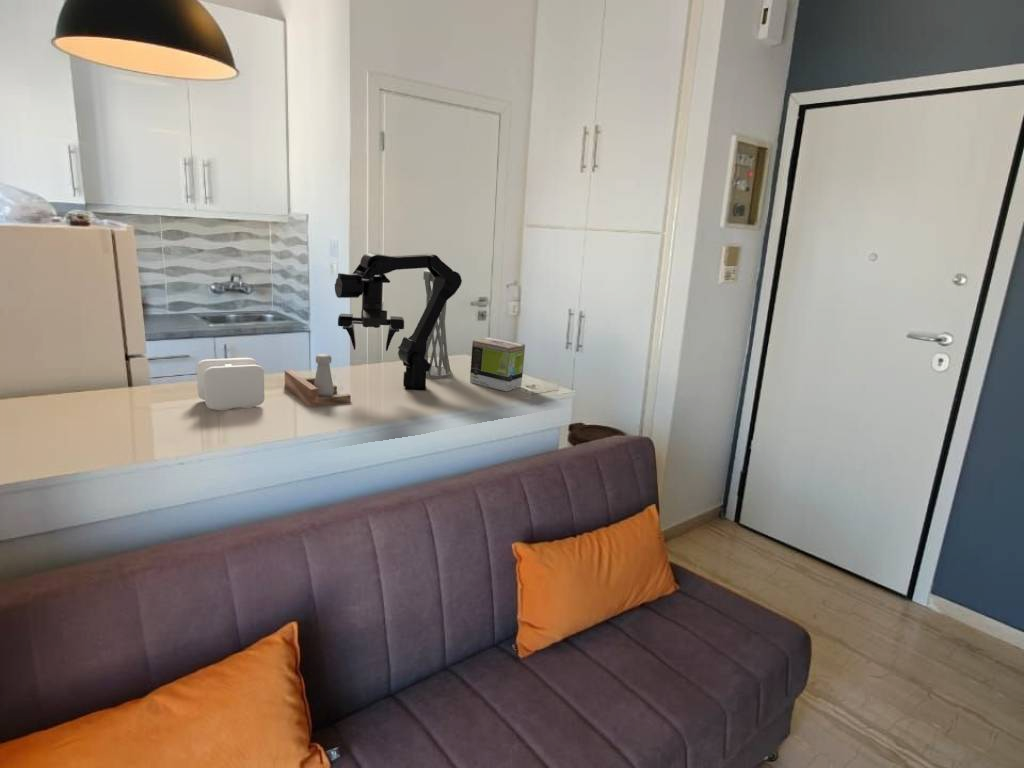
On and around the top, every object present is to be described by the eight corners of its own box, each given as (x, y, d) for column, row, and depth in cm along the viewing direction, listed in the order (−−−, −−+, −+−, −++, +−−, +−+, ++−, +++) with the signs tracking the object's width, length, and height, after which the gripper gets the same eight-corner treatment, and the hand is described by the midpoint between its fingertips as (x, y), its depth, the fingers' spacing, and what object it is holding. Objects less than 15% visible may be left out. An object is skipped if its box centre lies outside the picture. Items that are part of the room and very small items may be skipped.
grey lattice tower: (411, 367, 218) (416, 267, 208) (449, 368, 221) (455, 270, 211) (413, 377, 205) (419, 272, 196) (453, 379, 208) (460, 275, 199)
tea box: (522, 387, 207) (526, 344, 203) (505, 392, 198) (510, 348, 194) (485, 377, 214) (489, 335, 210) (468, 382, 206) (471, 339, 202)
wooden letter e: (322, 382, 190) (322, 367, 189) (350, 401, 175) (350, 385, 174) (284, 386, 183) (284, 370, 182) (310, 406, 168) (311, 389, 167)
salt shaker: (337, 400, 176) (338, 356, 172) (318, 403, 172) (318, 358, 168) (328, 394, 180) (328, 351, 176) (309, 397, 176) (309, 353, 173)
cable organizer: (202, 412, 157) (200, 368, 154) (197, 400, 165) (195, 358, 162) (264, 407, 165) (264, 365, 162) (257, 396, 173) (256, 356, 170)
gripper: (337, 300, 169) (336, 355, 173) (405, 304, 173) (403, 358, 177) (339, 294, 179) (338, 346, 183) (404, 298, 183) (402, 349, 187)
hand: (370, 350), depth 183 cm, fingers open, 9 cm apart
